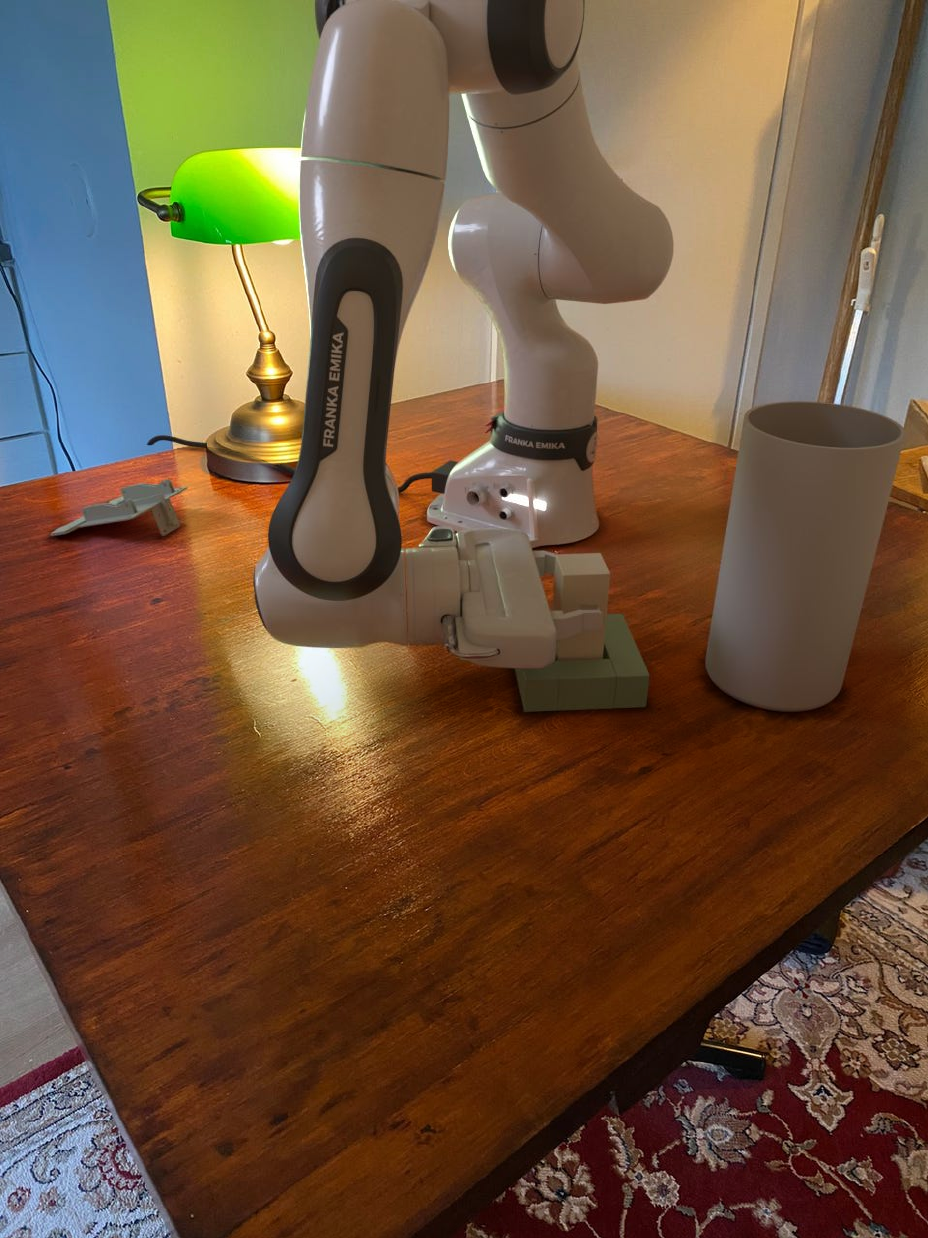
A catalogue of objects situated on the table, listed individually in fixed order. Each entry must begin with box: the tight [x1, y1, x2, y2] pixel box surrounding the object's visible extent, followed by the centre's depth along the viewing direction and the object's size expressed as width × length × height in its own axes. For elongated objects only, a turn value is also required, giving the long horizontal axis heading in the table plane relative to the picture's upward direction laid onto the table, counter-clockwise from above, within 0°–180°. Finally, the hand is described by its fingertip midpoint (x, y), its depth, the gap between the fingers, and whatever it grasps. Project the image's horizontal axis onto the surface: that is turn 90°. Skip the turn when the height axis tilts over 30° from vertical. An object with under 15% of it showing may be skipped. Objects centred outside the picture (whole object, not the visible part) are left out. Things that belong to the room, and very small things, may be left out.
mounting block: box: [514, 613, 650, 713], centre depth 86 cm, size 11×11×4 cm
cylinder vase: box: [704, 400, 906, 713], centre depth 81 cm, size 12×12×25 cm
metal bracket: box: [50, 478, 188, 537], centre depth 117 cm, size 14×6×15 cm
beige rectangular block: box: [551, 552, 611, 661], centre depth 84 cm, size 4×4×12 cm
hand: (591, 591), depth 83 cm, fingers open, 8 cm apart
